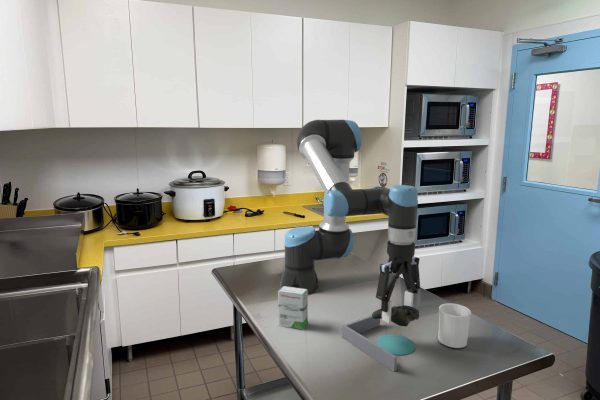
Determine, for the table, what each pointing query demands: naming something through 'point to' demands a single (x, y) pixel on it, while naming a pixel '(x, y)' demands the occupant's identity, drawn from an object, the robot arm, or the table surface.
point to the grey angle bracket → (368, 341)
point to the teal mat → (396, 344)
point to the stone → (400, 315)
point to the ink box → (293, 307)
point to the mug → (453, 325)
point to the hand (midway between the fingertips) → (397, 317)
